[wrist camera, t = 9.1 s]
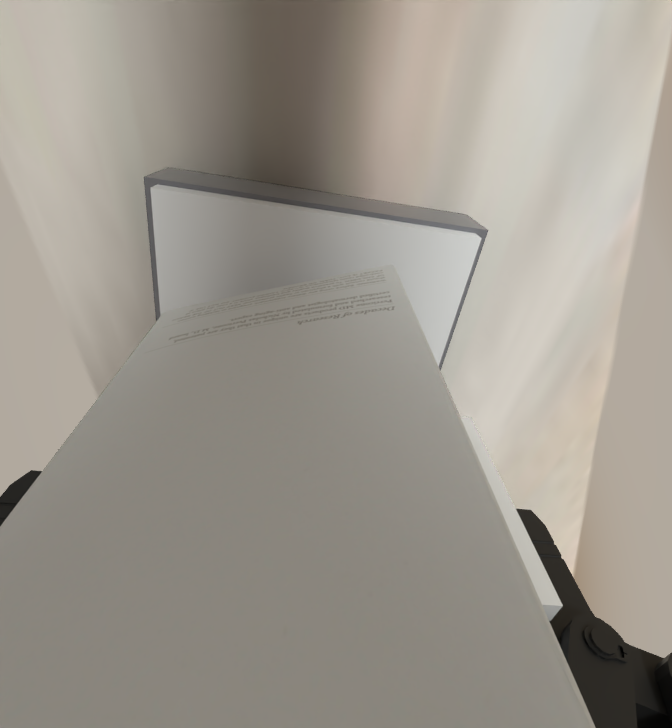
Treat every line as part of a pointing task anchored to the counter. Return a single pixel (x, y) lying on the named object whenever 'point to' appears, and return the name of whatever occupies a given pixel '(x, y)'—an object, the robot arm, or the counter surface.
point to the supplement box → (275, 538)
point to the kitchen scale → (302, 244)
